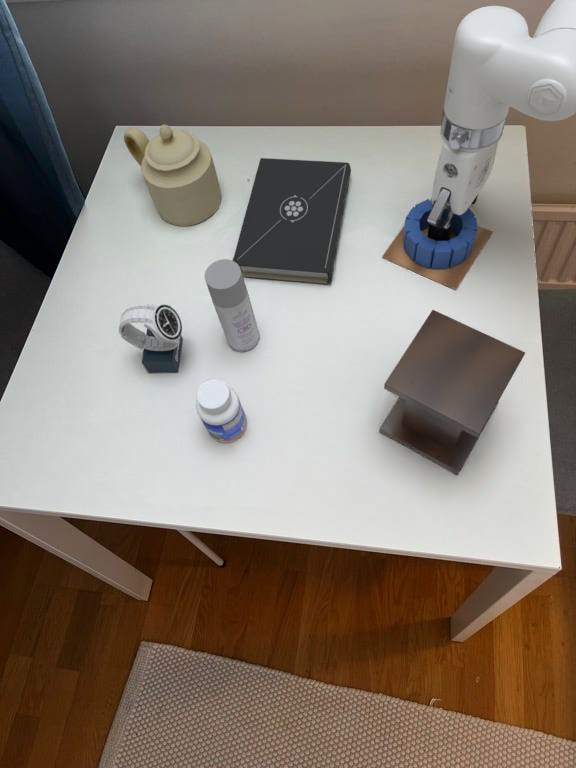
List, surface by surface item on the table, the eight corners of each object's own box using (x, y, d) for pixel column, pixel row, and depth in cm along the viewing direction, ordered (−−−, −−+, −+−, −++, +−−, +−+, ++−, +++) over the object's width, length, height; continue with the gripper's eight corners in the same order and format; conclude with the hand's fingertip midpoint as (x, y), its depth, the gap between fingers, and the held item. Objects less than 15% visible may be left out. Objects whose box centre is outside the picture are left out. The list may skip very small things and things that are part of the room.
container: (247, 357, 81) (227, 295, 68) (221, 343, 83) (195, 280, 69) (266, 332, 83) (249, 267, 70) (239, 319, 84) (218, 252, 71)
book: (331, 285, 85) (331, 272, 83) (235, 276, 88) (231, 264, 85) (351, 176, 94) (351, 162, 92) (262, 171, 97) (260, 157, 94)
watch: (192, 372, 81) (170, 331, 71) (136, 373, 82) (107, 332, 72) (196, 337, 84) (175, 293, 74) (142, 338, 85) (114, 295, 75)
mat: (492, 233, 87) (493, 231, 86) (455, 290, 83) (456, 288, 82) (420, 204, 90) (420, 202, 90) (382, 257, 87) (382, 256, 86)
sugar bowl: (127, 224, 95) (90, 151, 81) (144, 174, 100) (112, 97, 86) (215, 228, 92) (191, 153, 79) (228, 177, 97) (208, 98, 84)
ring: (483, 231, 86) (489, 212, 83) (453, 279, 83) (457, 262, 80) (422, 207, 90) (425, 188, 86) (391, 253, 86) (392, 235, 83)
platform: (496, 405, 74) (525, 352, 62) (457, 475, 71) (479, 434, 58) (419, 367, 78) (432, 309, 66) (378, 431, 75) (384, 383, 62)
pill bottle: (199, 425, 77) (180, 394, 69) (229, 398, 79) (213, 364, 70) (226, 451, 75) (209, 423, 67) (256, 423, 77) (243, 392, 68)
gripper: (469, 178, 67) (447, 271, 83) (532, 87, 73) (500, 190, 88) (411, 156, 69) (400, 250, 85) (476, 70, 75) (455, 173, 91)
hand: (451, 219), depth 86 cm, fingers open, 8 cm apart
